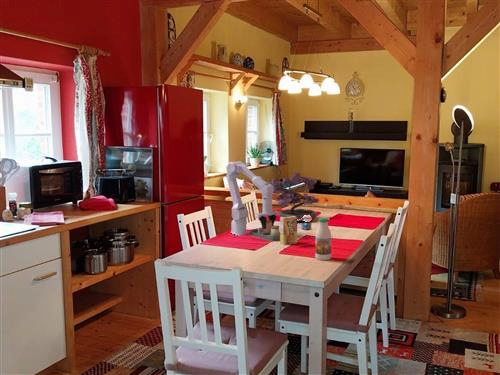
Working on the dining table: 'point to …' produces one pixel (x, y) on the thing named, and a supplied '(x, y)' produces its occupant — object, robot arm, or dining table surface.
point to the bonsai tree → (294, 196)
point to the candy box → (288, 230)
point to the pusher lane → (266, 237)
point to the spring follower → (261, 231)
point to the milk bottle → (323, 240)
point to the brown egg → (274, 230)
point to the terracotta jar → (268, 226)
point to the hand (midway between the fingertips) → (267, 228)
